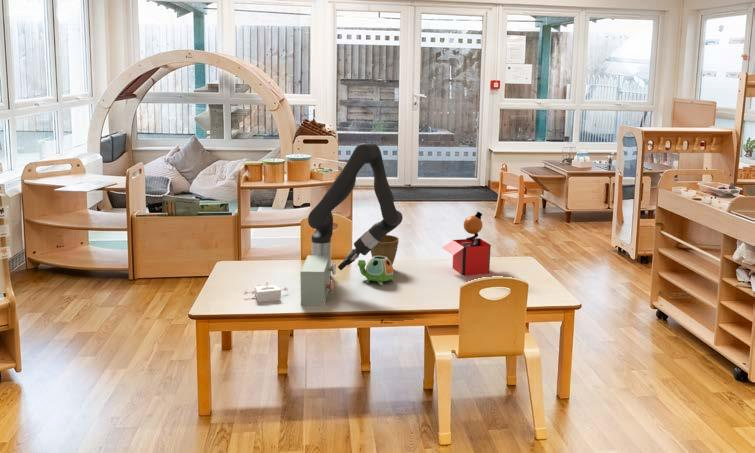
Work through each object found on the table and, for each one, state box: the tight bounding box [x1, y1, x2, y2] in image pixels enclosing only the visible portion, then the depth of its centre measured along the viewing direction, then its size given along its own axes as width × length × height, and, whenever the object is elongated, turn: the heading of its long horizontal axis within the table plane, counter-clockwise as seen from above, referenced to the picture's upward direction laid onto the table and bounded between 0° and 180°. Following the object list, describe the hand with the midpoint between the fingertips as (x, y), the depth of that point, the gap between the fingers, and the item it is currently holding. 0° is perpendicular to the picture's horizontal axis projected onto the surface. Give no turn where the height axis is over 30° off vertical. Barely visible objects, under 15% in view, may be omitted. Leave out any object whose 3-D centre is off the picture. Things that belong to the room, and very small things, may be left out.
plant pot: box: [370, 234, 400, 266], centre depth 381 cm, size 15×15×16 cm
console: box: [300, 254, 331, 306], centre depth 340 cm, size 10×26×15 cm, turn 178°
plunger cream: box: [328, 261, 337, 276], centre depth 345 cm, size 13×6×6 cm, turn 88°
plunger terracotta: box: [325, 279, 335, 294], centre depth 334 cm, size 13×6×6 cm, turn 88°
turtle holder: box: [356, 256, 394, 286], centre depth 363 cm, size 12×18×12 cm
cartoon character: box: [243, 281, 289, 303], centre depth 340 cm, size 8×20×16 cm
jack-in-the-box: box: [442, 211, 493, 277], centre depth 379 cm, size 26×16×30 cm, turn 106°
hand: (339, 268), depth 344 cm, fingers closed
